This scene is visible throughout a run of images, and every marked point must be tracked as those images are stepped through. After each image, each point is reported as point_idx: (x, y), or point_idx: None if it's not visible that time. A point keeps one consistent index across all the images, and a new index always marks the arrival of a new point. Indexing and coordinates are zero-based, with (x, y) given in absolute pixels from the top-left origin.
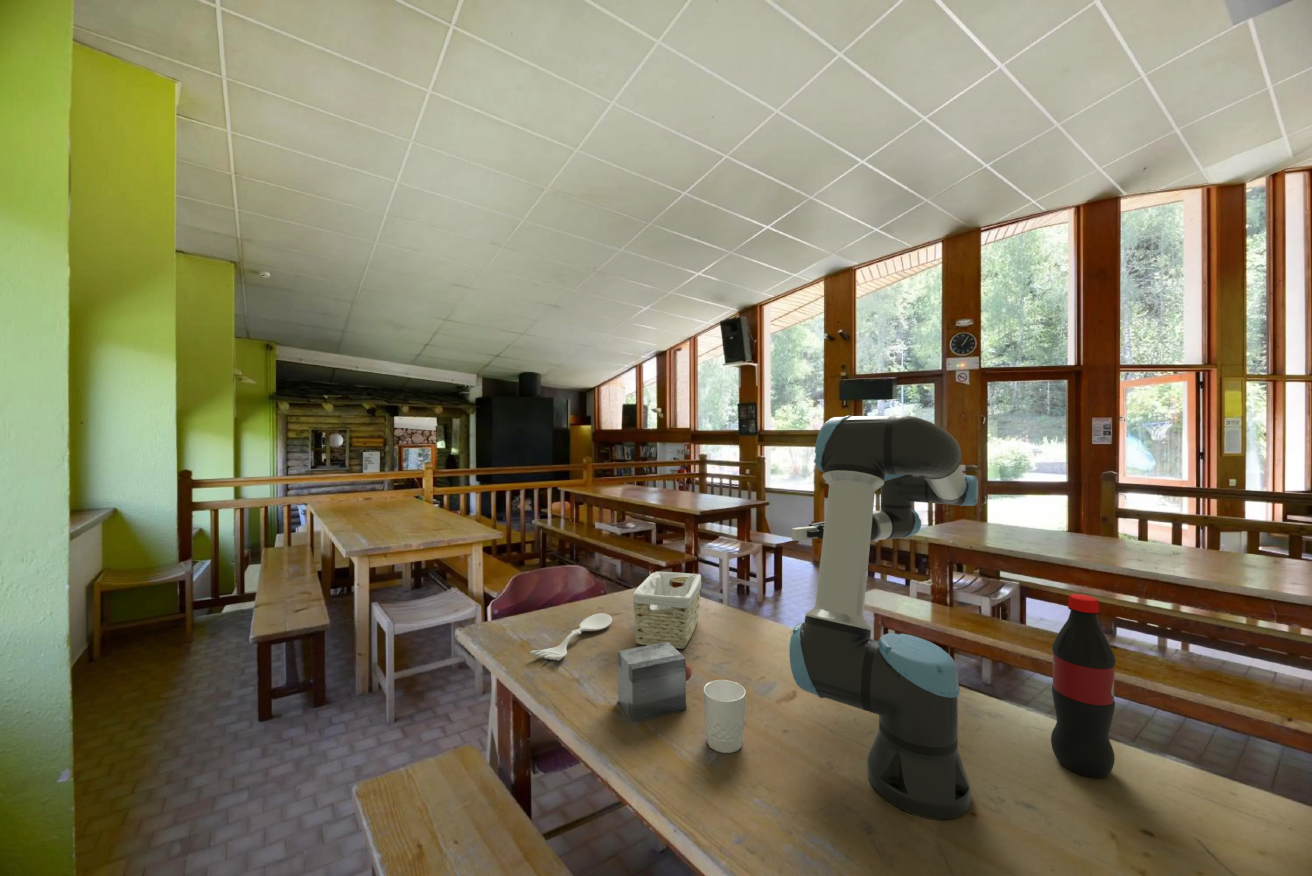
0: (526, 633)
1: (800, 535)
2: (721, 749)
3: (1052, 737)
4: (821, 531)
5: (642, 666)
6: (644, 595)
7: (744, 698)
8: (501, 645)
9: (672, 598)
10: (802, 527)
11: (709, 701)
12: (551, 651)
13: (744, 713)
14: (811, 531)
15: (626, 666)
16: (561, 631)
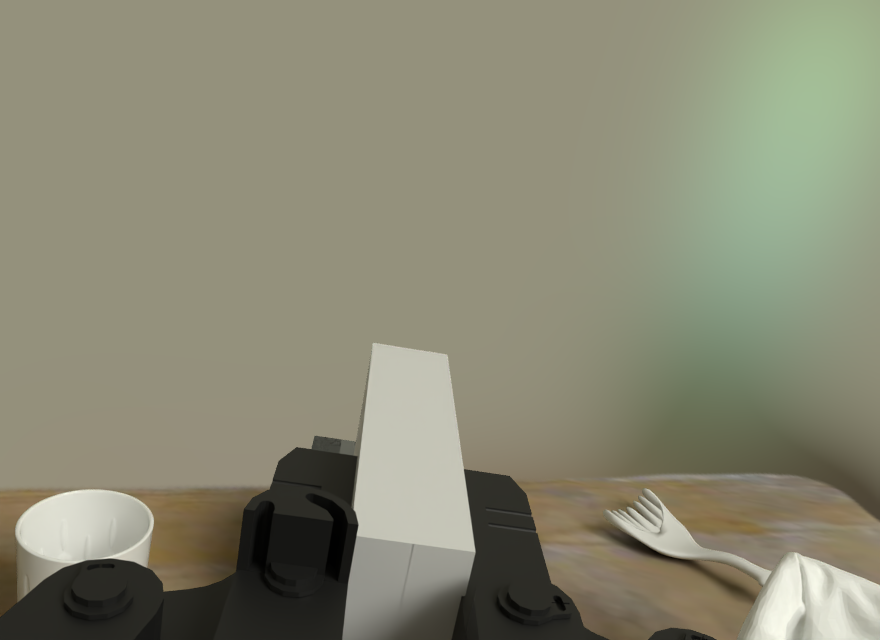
0: (812, 544)
1: (356, 448)
2: None
3: None
4: (227, 586)
5: (314, 449)
6: (776, 567)
7: (17, 548)
8: (735, 499)
9: (746, 625)
10: (440, 419)
11: (93, 500)
12: (673, 533)
13: (22, 596)
14: (298, 468)
15: None
16: None
